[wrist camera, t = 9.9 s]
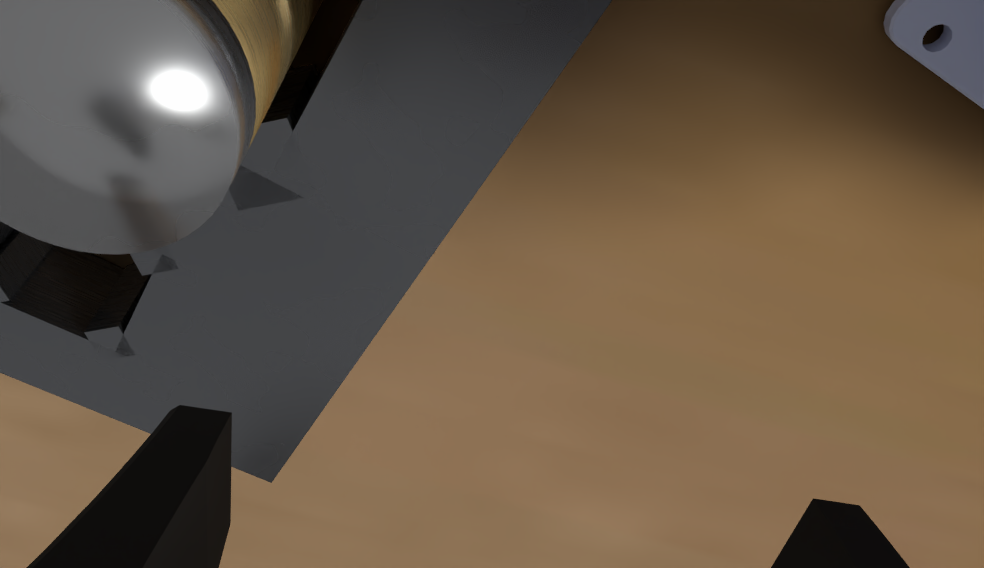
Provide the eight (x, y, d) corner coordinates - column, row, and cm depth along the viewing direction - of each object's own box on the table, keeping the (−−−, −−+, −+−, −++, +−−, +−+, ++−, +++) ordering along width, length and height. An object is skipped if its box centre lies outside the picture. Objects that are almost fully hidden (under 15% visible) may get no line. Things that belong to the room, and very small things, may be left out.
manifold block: (608, -56, 16) (621, -13, 14) (293, 409, 23) (271, 482, 21) (-74, -522, 12) (-191, -558, 10) (-197, 196, 20) (-279, 259, 17)
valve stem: (372, -15, 16) (303, 167, 11) (215, 89, 18) (81, 299, 12) (228, -220, 14) (53, -130, 9) (63, -87, 16) (-182, 66, 10)
